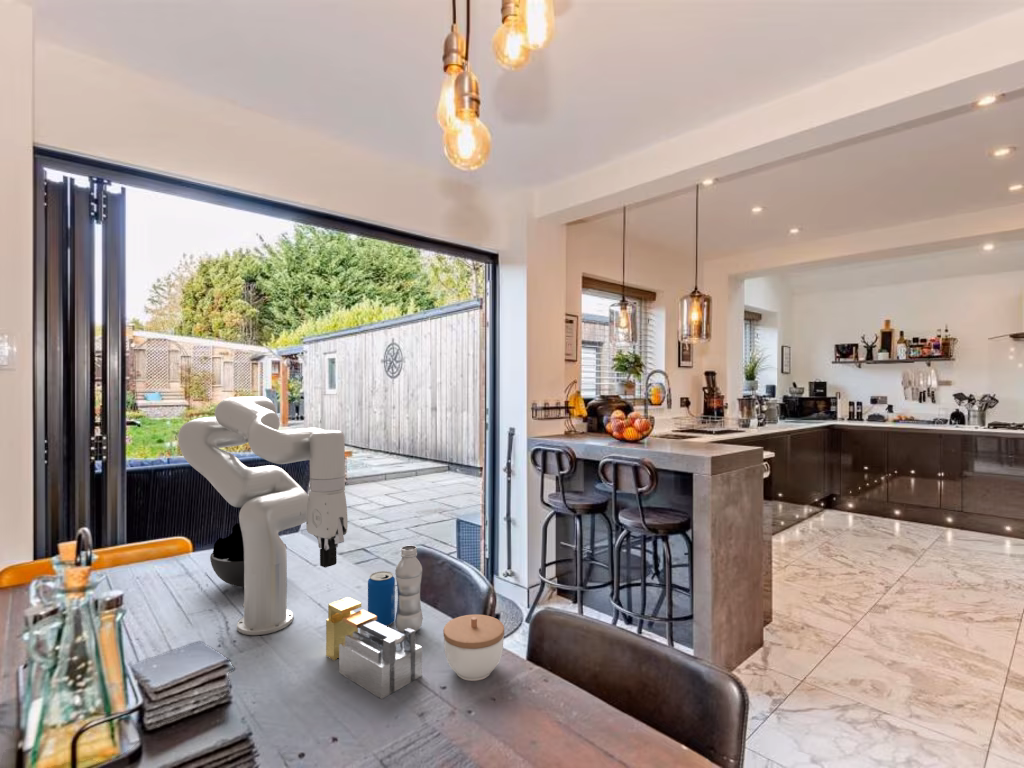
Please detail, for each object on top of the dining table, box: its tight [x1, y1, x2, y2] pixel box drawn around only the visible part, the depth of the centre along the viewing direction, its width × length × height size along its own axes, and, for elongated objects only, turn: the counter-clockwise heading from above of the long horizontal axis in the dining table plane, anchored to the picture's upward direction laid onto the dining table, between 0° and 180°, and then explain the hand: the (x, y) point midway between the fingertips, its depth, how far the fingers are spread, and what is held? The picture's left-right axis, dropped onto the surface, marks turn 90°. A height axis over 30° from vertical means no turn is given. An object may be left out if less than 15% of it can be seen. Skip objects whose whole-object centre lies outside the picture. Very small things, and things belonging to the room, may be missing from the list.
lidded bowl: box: [442, 613, 505, 682], centre depth 109 cm, size 13×13×11 cm
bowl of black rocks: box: [209, 522, 287, 588], centre depth 154 cm, size 20×20×19 cm
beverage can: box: [367, 570, 396, 627], centre depth 130 cm, size 6×6×12 cm
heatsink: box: [338, 628, 423, 700], centre depth 108 cm, size 14×10×10 cm
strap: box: [343, 609, 408, 645], centre depth 108 cm, size 16×5×1 cm, turn 51°
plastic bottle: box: [394, 544, 424, 634], centre depth 126 cm, size 6×7×20 cm
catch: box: [325, 596, 362, 661], centre depth 115 cm, size 5×6×11 cm
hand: (328, 565), depth 119 cm, fingers closed
